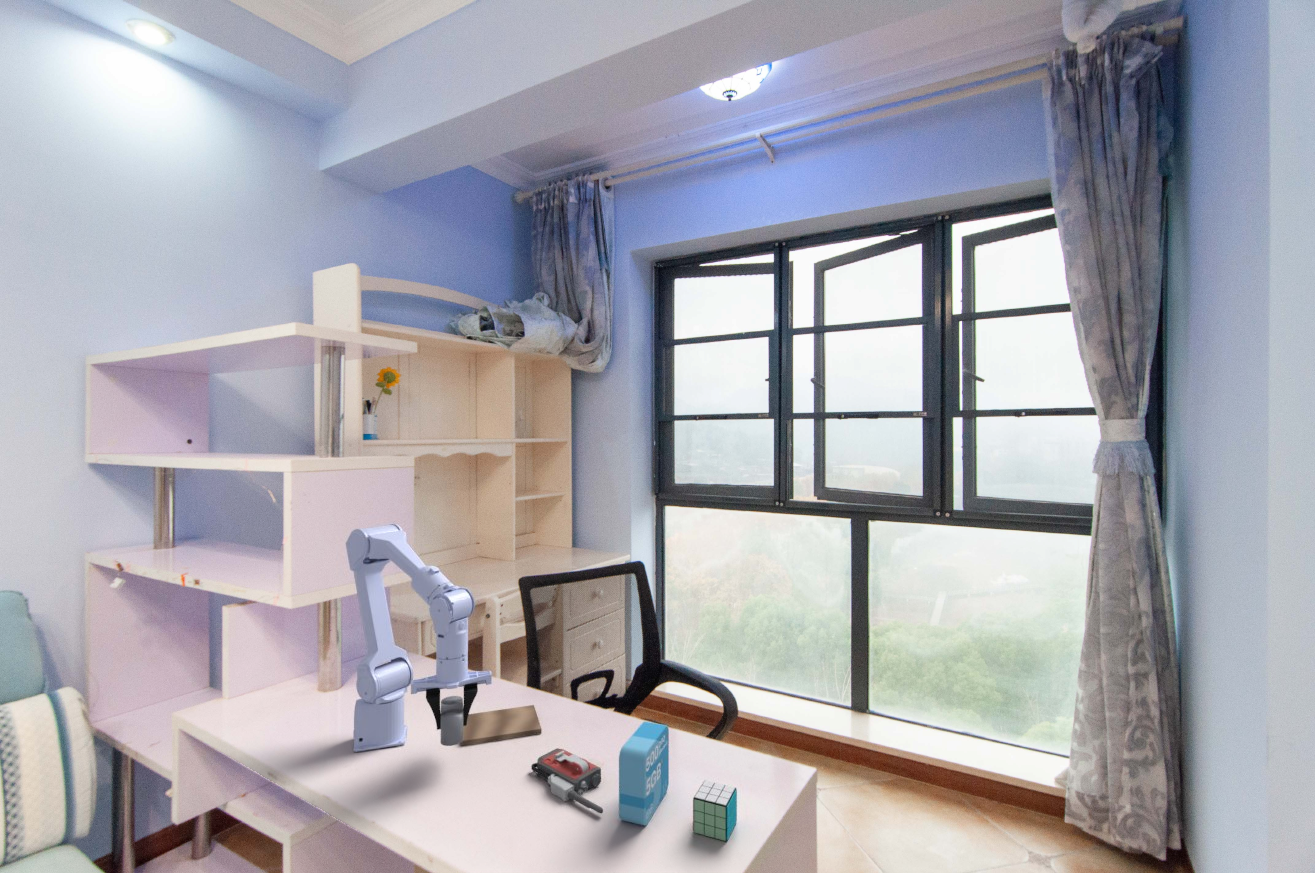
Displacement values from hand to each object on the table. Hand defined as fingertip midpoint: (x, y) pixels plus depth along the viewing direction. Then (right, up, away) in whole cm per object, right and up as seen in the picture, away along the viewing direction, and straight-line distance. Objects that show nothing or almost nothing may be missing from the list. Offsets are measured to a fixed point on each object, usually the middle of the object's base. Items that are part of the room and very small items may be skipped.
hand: (451, 725), depth 115 cm
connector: (0, -1, +1) cm, 2 cm away
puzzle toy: (+49, -8, -18) cm, 52 cm away
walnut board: (+5, -8, +16) cm, 18 cm away
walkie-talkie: (+25, -8, -7) cm, 27 cm away
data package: (+37, -8, -12) cm, 40 cm away
